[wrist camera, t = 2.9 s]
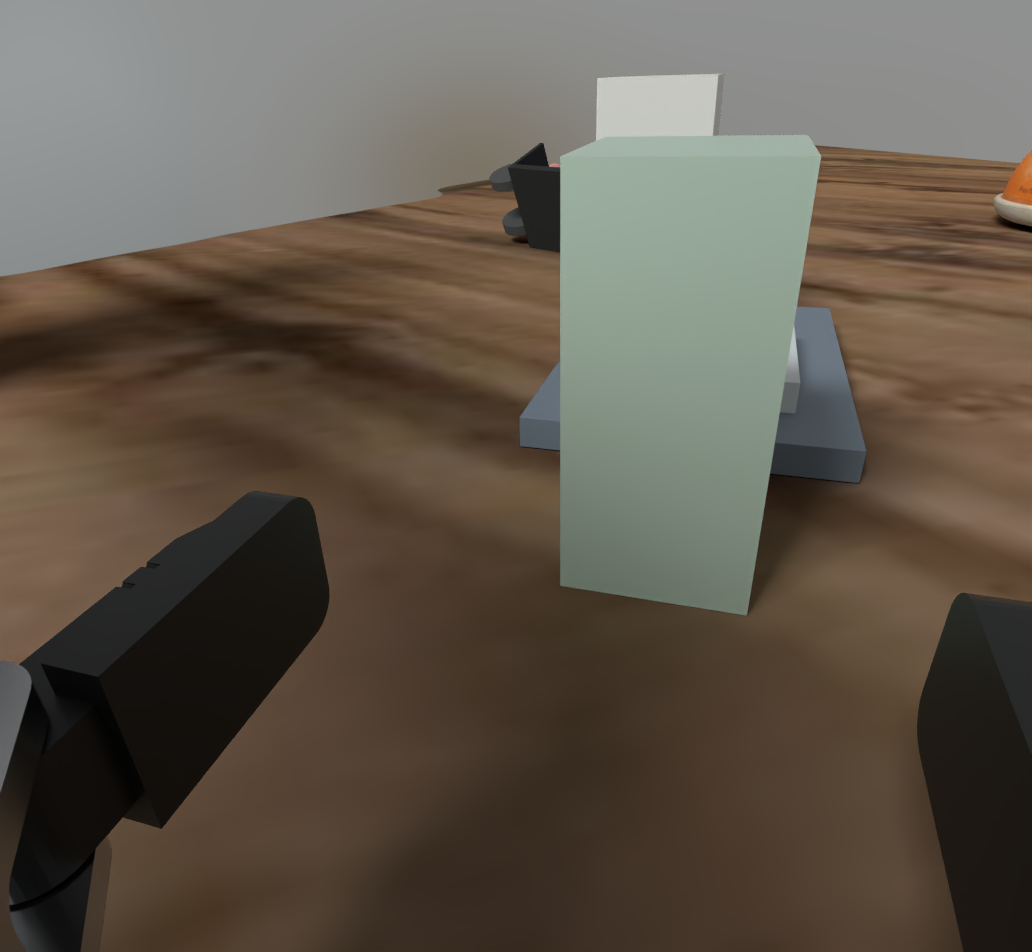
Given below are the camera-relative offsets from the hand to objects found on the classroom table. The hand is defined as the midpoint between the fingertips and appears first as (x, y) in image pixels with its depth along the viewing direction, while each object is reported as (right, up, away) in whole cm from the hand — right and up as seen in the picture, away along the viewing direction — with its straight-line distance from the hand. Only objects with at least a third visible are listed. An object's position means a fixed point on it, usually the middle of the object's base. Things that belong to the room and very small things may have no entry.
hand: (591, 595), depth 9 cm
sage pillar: (+3, -1, +12) cm, 13 cm away
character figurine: (+4, +19, +49) cm, 53 cm away
